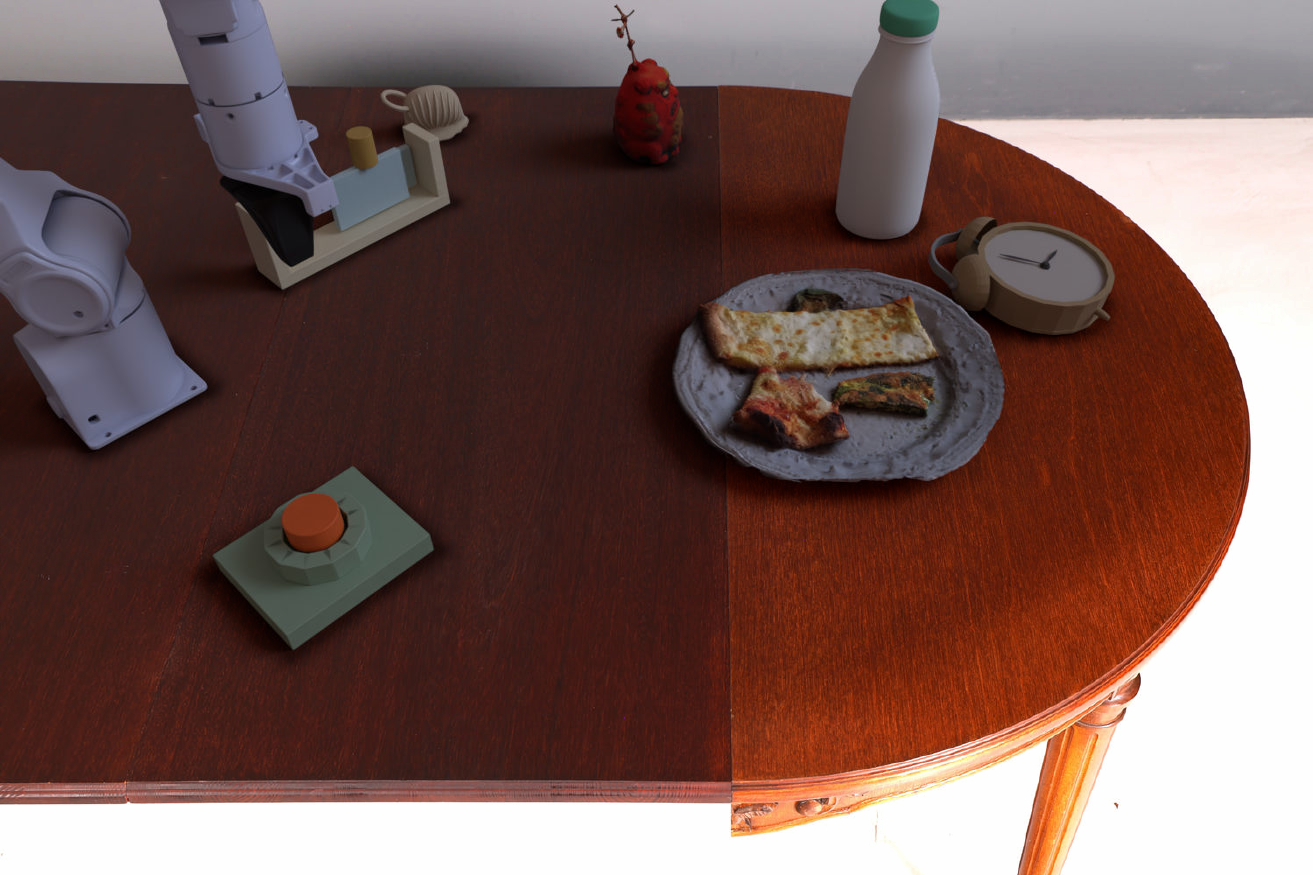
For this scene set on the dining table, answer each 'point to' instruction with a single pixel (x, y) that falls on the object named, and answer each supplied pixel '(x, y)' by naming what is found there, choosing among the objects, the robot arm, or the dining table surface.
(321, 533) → the button
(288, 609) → the button block
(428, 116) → the decorative ornament
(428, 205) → the window frame
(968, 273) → the alarm clock
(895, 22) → the milk bottle
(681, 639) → the dining table surface
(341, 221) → the blue panel with knob
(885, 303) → the food plate
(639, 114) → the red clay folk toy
